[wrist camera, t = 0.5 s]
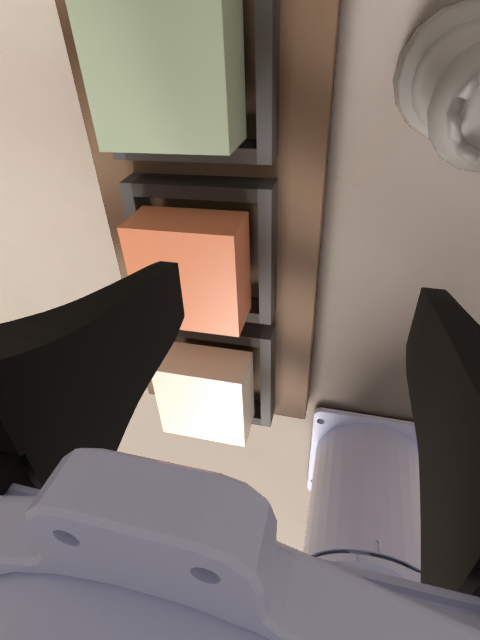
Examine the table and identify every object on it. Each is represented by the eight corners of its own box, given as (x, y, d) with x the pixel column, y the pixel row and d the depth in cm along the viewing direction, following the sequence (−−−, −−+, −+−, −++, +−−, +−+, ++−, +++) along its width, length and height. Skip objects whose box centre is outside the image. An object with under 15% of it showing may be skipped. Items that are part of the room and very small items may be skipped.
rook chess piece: (368, 80, 17) (366, 123, 11) (472, -36, 14) (550, -68, 8) (440, 158, 18) (477, 239, 12) (550, 64, 15) (674, 104, 9)
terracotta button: (251, 306, 21) (239, 337, 19) (159, 296, 22) (139, 324, 20) (248, 211, 18) (233, 236, 16) (142, 205, 19) (116, 227, 17)
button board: (307, 402, 28) (302, 437, 26) (157, 378, 31) (140, 409, 28) (347, -87, 14) (343, -105, 12) (62, -59, 17) (12, -70, 14)
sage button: (246, 137, 16) (229, 155, 14) (130, 135, 17) (99, 152, 15) (241, -29, 13) (219, -34, 11) (101, -19, 14) (59, -23, 13)
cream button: (254, 413, 26) (244, 446, 24) (178, 400, 27) (163, 431, 25) (252, 352, 23) (241, 384, 21) (167, 340, 24) (149, 370, 22)
